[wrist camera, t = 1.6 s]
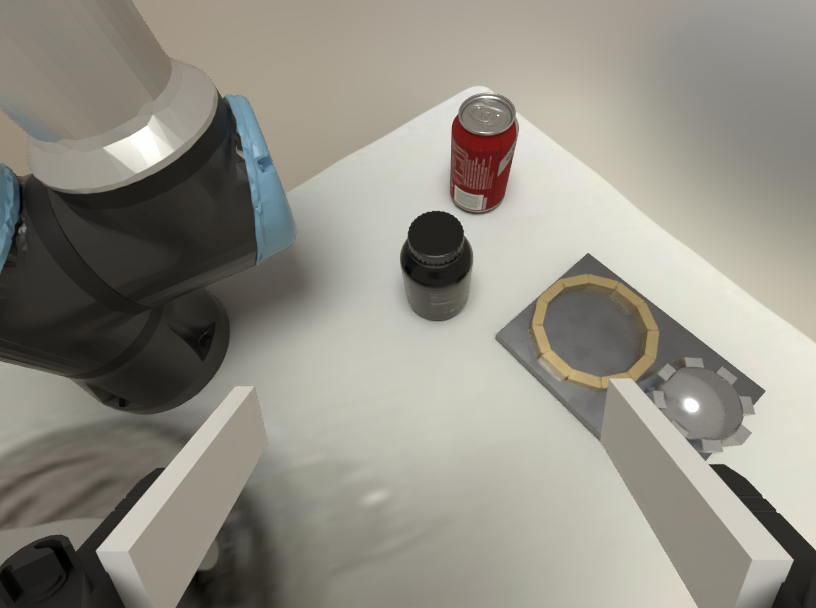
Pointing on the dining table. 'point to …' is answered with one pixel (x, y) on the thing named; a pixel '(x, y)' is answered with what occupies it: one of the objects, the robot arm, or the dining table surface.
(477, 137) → the soda can
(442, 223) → the supplement bottle
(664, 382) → the carrier
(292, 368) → the dining table surface
